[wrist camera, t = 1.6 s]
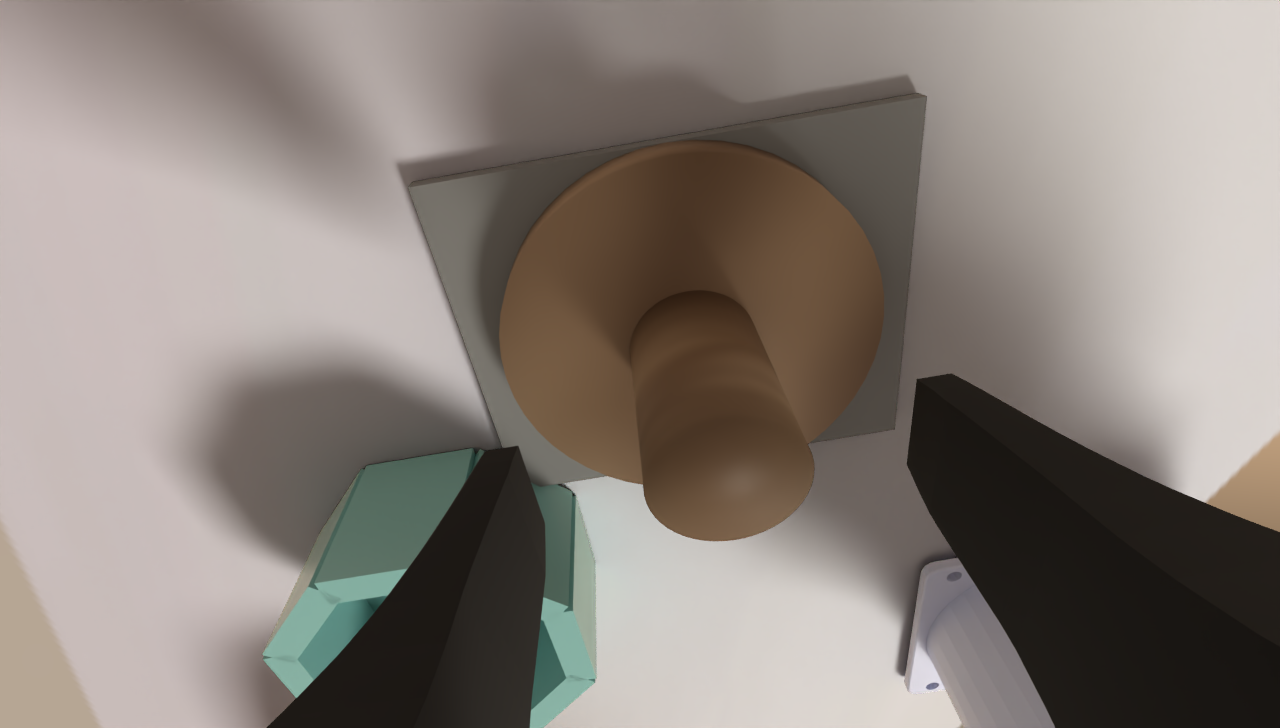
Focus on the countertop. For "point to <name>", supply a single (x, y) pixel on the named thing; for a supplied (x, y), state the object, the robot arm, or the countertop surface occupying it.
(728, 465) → the lid
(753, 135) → the mat
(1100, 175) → the countertop surface
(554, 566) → the bowl
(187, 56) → the countertop surface
